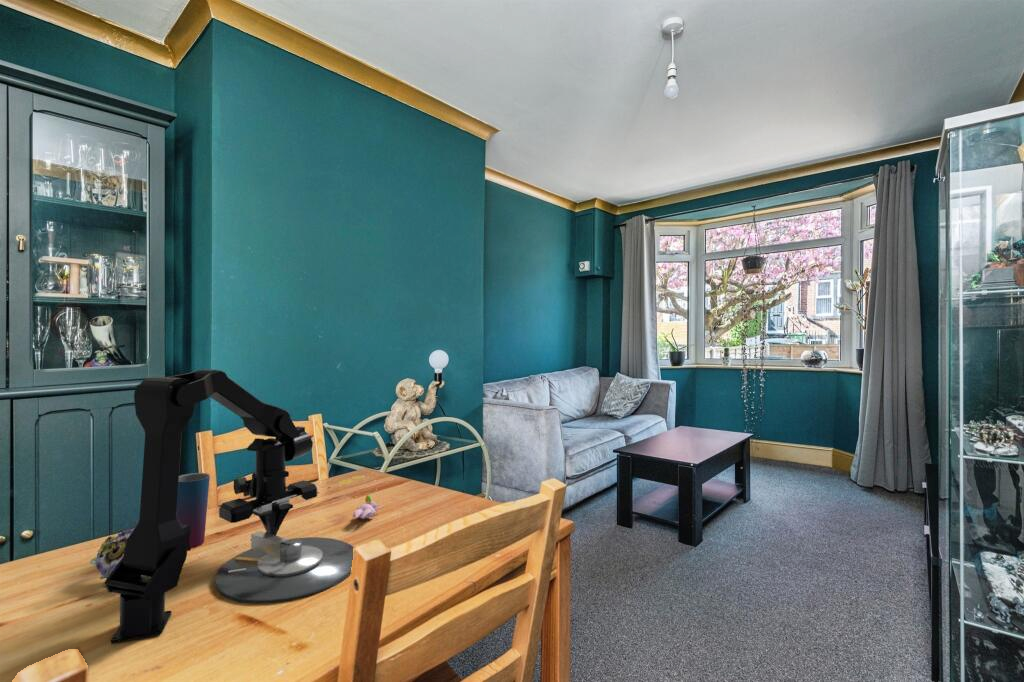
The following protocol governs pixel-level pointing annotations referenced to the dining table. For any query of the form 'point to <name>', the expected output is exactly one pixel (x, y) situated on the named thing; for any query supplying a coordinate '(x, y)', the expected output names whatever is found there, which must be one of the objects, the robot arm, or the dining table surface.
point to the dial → (284, 555)
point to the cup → (193, 505)
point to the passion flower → (111, 553)
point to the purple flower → (366, 509)
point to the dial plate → (254, 587)
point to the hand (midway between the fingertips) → (271, 539)
